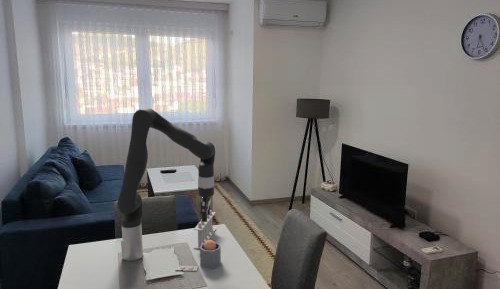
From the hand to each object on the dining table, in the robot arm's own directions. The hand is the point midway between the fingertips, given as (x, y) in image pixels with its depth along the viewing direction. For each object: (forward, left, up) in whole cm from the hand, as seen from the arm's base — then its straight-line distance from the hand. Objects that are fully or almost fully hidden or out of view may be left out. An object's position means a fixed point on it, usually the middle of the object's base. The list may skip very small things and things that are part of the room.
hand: (206, 217), depth 165 cm
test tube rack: (-5, +25, -23) cm, 34 cm away
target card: (-8, -7, -23) cm, 25 cm away
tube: (+2, -2, -23) cm, 23 cm away
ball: (+2, -1, -14) cm, 14 cm away
